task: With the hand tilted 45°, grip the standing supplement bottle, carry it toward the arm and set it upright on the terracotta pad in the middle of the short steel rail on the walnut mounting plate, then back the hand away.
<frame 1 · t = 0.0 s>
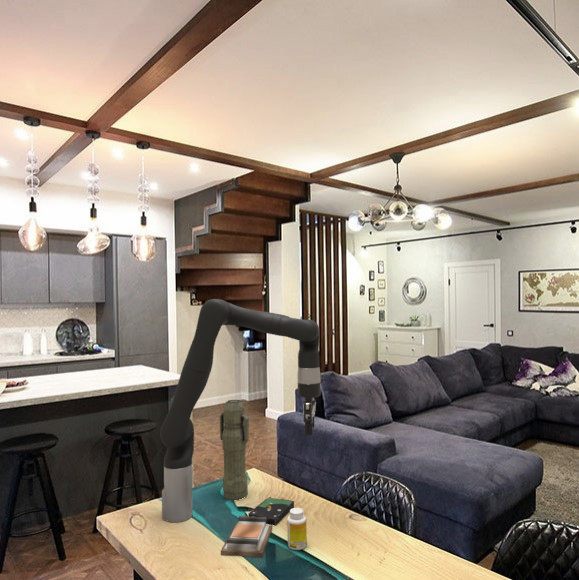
hand: (309, 430, 151), 29 cm above the table, tool pointing down, fingers open, 8 cm apart
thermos: (235, 496, 172), on the table
supplement bottle: (297, 546, 135), on the table
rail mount: (247, 541, 138), on the table
disk drive: (271, 515, 157), on the table
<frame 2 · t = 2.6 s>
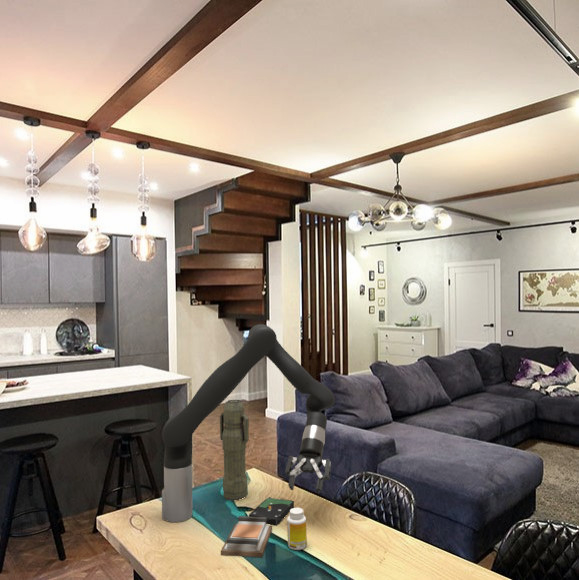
hand: (304, 490, 144), 13 cm above the table, tool tilted 45°, fingers open, 8 cm apart
nothing on the table moved.
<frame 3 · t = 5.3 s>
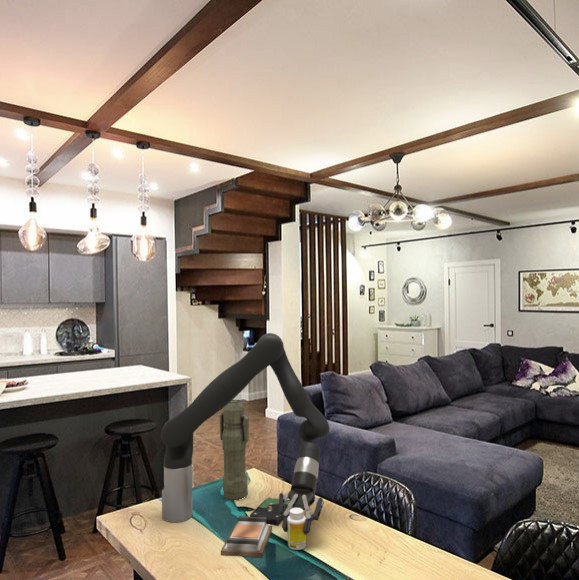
hand: (295, 532, 134), 5 cm above the table, tool tilted 45°, fingers closed on supplement bottle, 5 cm apart
supplement bottle: (297, 546, 135), on the table, touching gripper
everything else where it was.
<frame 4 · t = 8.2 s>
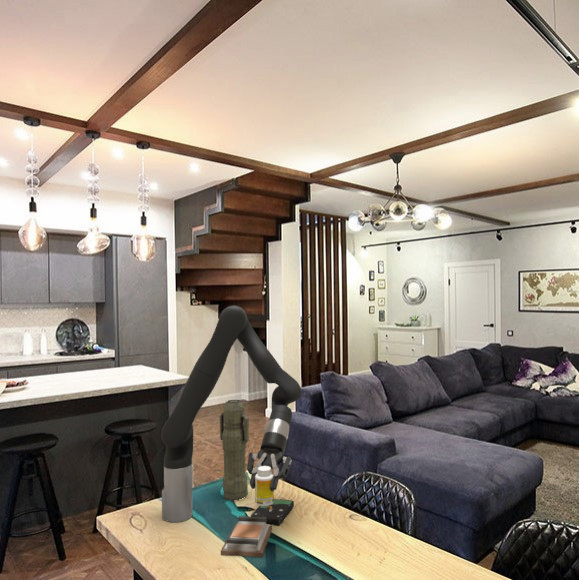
hand: (262, 488, 136), 17 cm above the table, tool tilted 45°, fingers closed on supplement bottle, 5 cm apart
supplement bottle: (264, 503, 138), point 12 cm above the table, touching gripper
everything else where it was.
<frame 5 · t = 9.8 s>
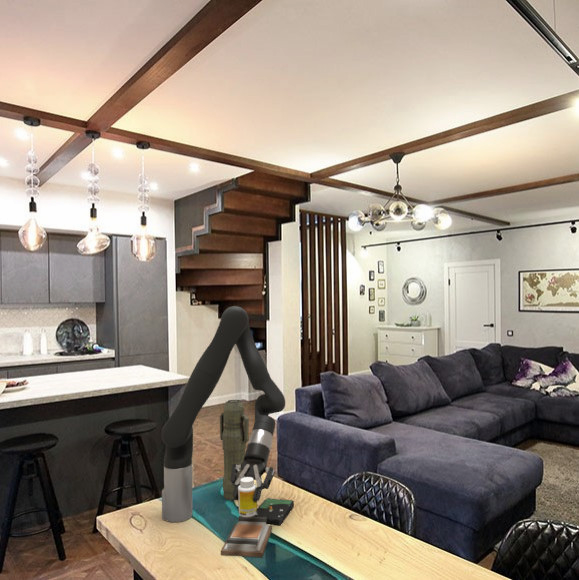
hand: (245, 500, 137), 13 cm above the table, tool tilted 45°, fingers closed on supplement bottle, 5 cm apart
supplement bottle: (247, 514, 139), point 8 cm above the table, touching gripper
everything else where it was.
when the fingers open (9 cm above the table, at t = 11.1 s): supplement bottle drops 1 cm, resting on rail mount.
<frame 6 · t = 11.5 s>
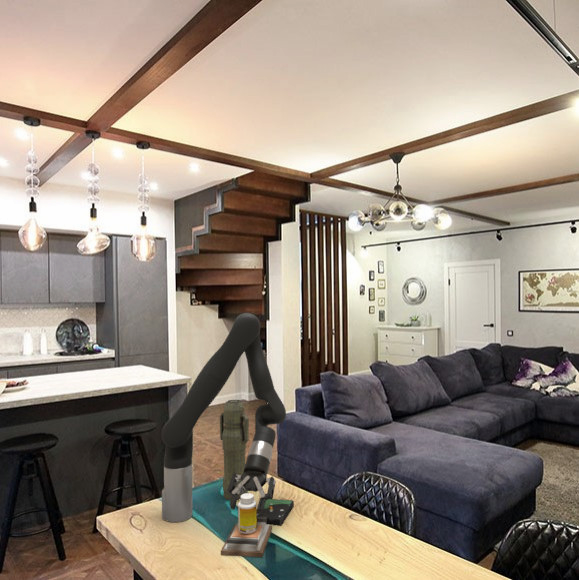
hand: (245, 510, 137), 10 cm above the table, tool tilted 45°, fingers open, 8 cm apart
supplement bottle: (247, 530, 139), point 3 cm above the table, touching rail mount
everything else where it was.
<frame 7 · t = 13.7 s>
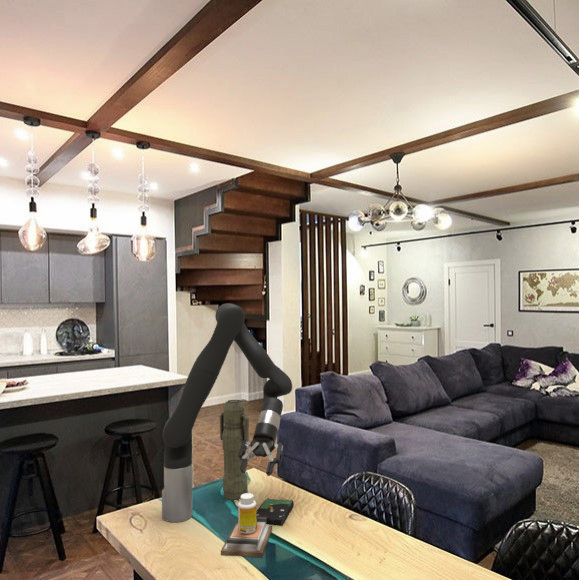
hand: (255, 473, 145), 18 cm above the table, tool tilted 45°, fingers open, 8 cm apart
nothing on the table moved.
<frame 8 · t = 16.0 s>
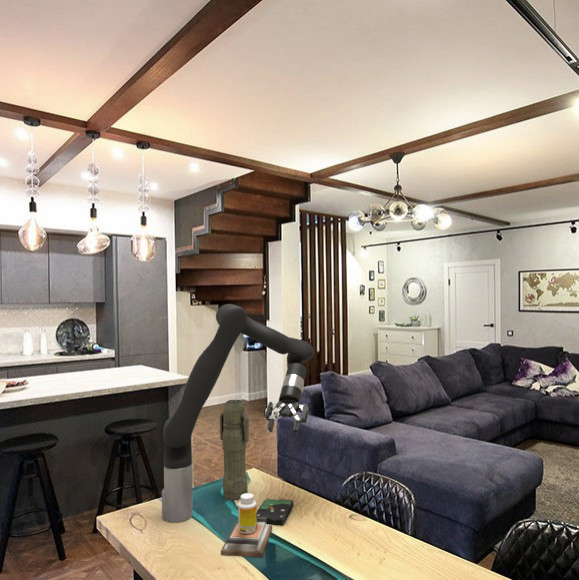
hand: (282, 431, 153), 29 cm above the table, tool tilted 45°, fingers open, 8 cm apart
at the end: supplement bottle inside the target area on the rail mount (0.2 cm from its centre), point 3.0 cm above the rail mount's base; supplement bottle tilted 0°; the gripper is holding nothing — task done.
